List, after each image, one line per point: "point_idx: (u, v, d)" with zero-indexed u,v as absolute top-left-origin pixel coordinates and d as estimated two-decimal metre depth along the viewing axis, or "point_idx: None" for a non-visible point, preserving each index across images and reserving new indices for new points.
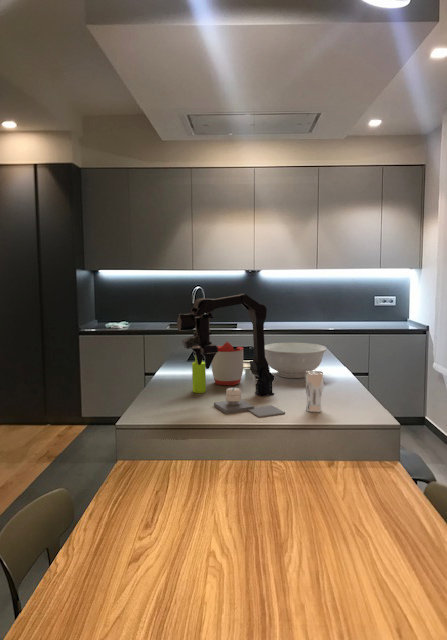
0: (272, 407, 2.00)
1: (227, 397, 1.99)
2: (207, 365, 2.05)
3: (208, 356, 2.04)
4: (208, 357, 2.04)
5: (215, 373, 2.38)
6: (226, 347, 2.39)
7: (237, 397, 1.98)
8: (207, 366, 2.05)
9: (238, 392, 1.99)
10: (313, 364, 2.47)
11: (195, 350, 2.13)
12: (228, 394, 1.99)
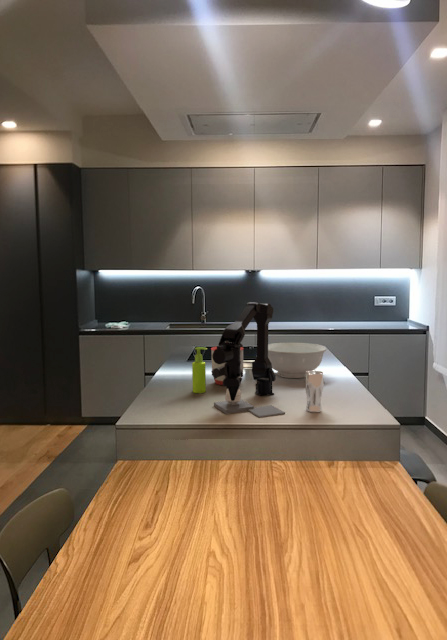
0: (272, 407, 2.00)
1: (227, 397, 1.99)
2: (232, 397, 1.97)
3: (232, 388, 1.96)
4: (232, 389, 1.97)
5: None
6: None
7: (237, 397, 1.98)
8: (232, 398, 1.98)
9: (238, 392, 1.99)
10: (313, 364, 2.47)
11: None
12: (228, 394, 1.99)
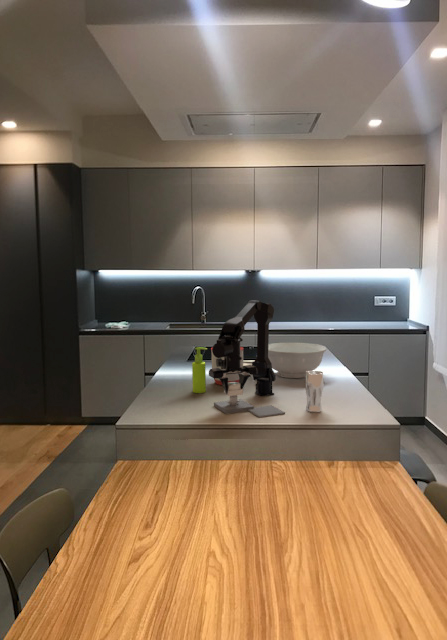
0: (272, 407, 2.00)
1: None
2: (224, 389, 1.99)
3: (223, 380, 1.99)
4: (223, 381, 1.99)
5: None
6: None
7: (228, 391, 1.98)
8: (225, 391, 1.99)
9: (231, 387, 1.98)
10: (313, 364, 2.47)
11: (239, 375, 2.03)
12: None
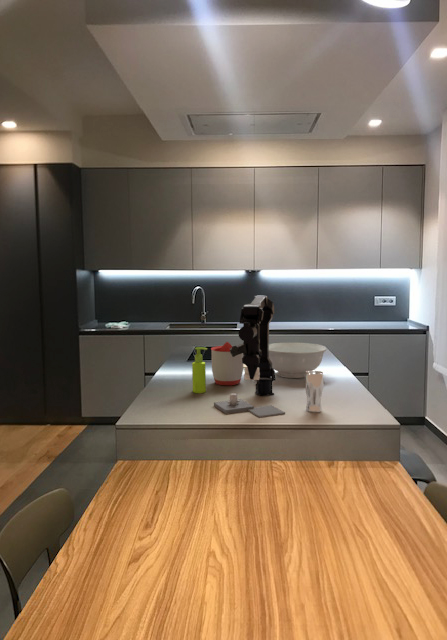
0: (272, 407, 2.00)
1: (246, 375, 1.94)
2: (251, 375, 1.93)
3: (251, 366, 1.92)
4: (251, 367, 1.92)
5: (215, 373, 2.38)
6: (226, 347, 2.39)
7: (256, 376, 1.93)
8: (251, 376, 1.93)
9: (257, 370, 1.94)
10: (313, 364, 2.47)
11: None
12: (247, 372, 1.94)
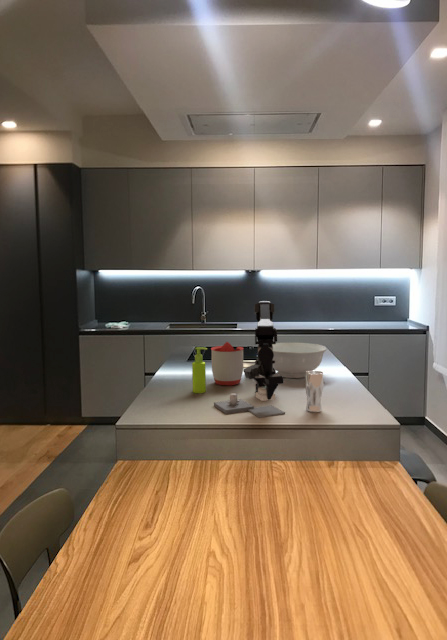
0: (272, 407, 2.00)
1: (264, 396, 1.92)
2: (269, 395, 1.92)
3: (270, 386, 1.91)
4: (270, 387, 1.91)
5: (215, 373, 2.38)
6: (226, 347, 2.39)
7: (273, 395, 1.93)
8: (269, 396, 1.92)
9: None
10: (313, 364, 2.47)
11: (257, 380, 1.97)
12: (264, 393, 1.92)
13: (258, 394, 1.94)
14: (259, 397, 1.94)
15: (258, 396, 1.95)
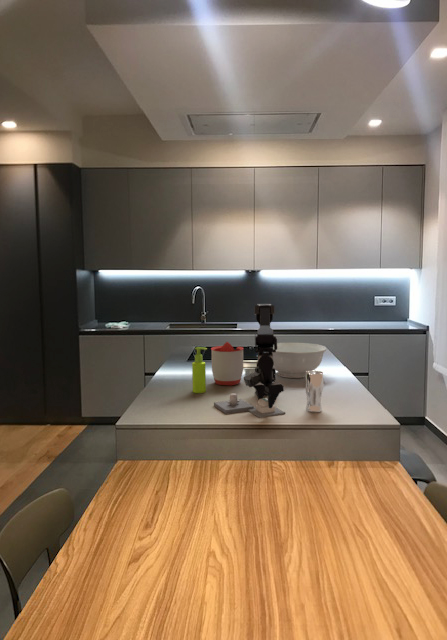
0: None
1: (263, 409, 1.92)
2: (270, 404, 1.91)
3: (272, 395, 1.90)
4: (272, 396, 1.90)
5: (215, 373, 2.38)
6: (226, 347, 2.39)
7: (272, 407, 1.94)
8: (270, 405, 1.91)
9: None
10: (313, 364, 2.47)
11: (256, 387, 1.98)
12: (263, 405, 1.93)
13: (258, 406, 1.95)
14: (259, 409, 1.94)
15: (258, 408, 1.95)
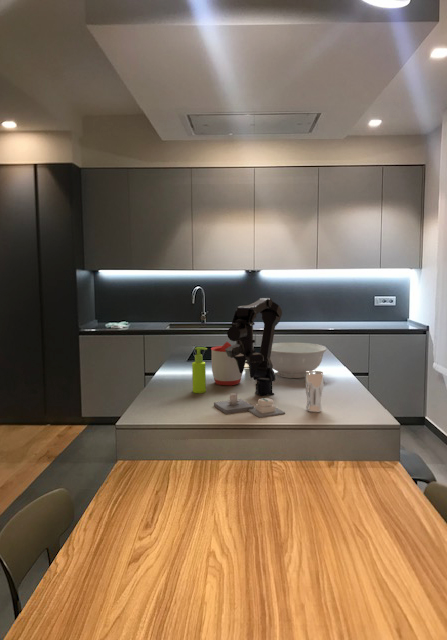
0: None
1: (263, 409, 1.92)
2: (252, 374, 2.02)
3: (253, 365, 2.01)
4: (253, 366, 2.01)
5: (215, 373, 2.38)
6: (226, 347, 2.39)
7: (272, 407, 1.94)
8: (252, 375, 2.02)
9: (272, 402, 1.95)
10: (313, 364, 2.47)
11: (237, 358, 2.10)
12: (263, 405, 1.93)
13: (258, 406, 1.95)
14: (259, 409, 1.94)
15: (258, 408, 1.95)
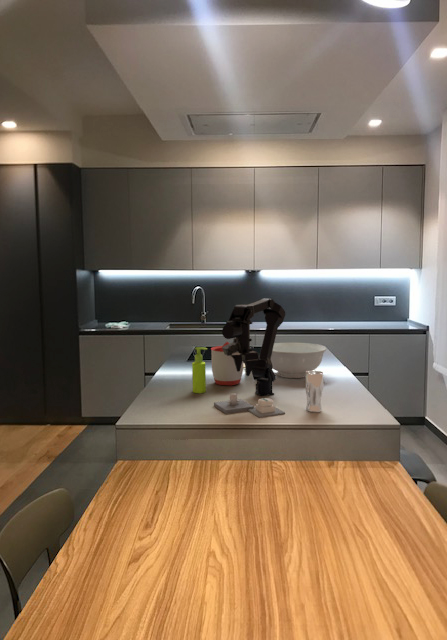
0: None
1: (263, 409, 1.92)
2: (248, 372, 2.03)
3: (249, 363, 2.03)
4: (249, 364, 2.03)
5: (215, 373, 2.38)
6: None
7: (272, 407, 1.94)
8: (248, 373, 2.04)
9: (272, 402, 1.95)
10: (313, 364, 2.47)
11: (234, 357, 2.12)
12: (263, 405, 1.93)
13: (258, 406, 1.95)
14: (259, 409, 1.94)
15: (258, 408, 1.95)
